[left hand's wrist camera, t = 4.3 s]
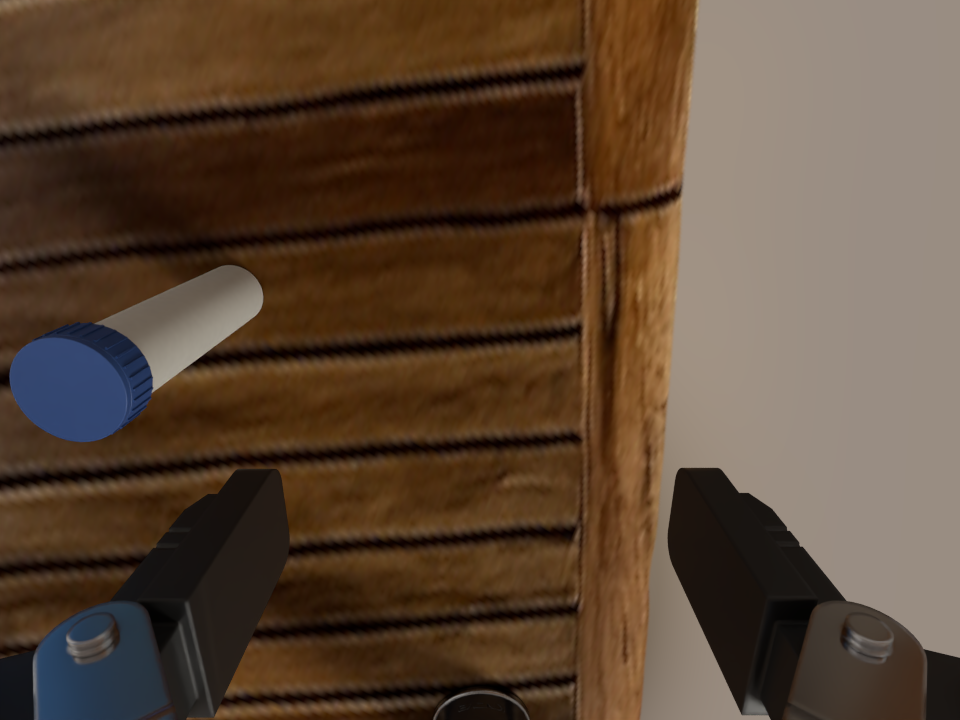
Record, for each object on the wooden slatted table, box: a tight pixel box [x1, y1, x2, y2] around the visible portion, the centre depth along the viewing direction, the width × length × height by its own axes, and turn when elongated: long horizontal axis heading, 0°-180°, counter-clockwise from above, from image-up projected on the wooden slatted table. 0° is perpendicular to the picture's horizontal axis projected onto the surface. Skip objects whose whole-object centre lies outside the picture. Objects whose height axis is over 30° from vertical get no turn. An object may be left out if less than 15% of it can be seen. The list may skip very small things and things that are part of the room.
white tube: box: [95, 265, 263, 392], centre depth 32 cm, size 4×4×17 cm
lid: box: [10, 322, 153, 442], centre depth 25 cm, size 5×5×2 cm
